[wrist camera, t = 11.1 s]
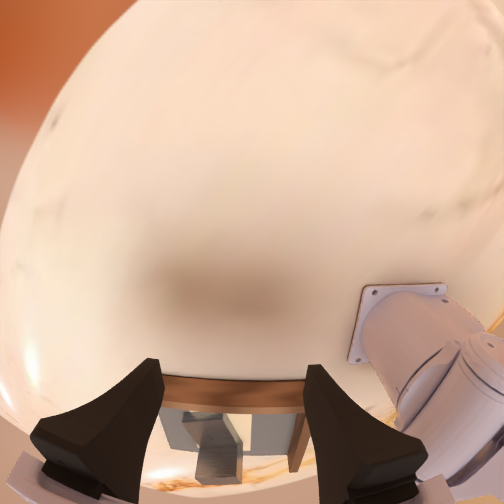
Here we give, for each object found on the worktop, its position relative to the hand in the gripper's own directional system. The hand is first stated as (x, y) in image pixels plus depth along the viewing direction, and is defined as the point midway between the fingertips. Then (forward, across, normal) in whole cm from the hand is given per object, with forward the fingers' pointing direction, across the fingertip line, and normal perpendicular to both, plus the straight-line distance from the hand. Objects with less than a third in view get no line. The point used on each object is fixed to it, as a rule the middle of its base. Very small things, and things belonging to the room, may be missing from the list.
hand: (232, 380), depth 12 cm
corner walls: (+9, +1, +16) cm, 19 cm away
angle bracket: (+9, +3, +17) cm, 19 cm away
